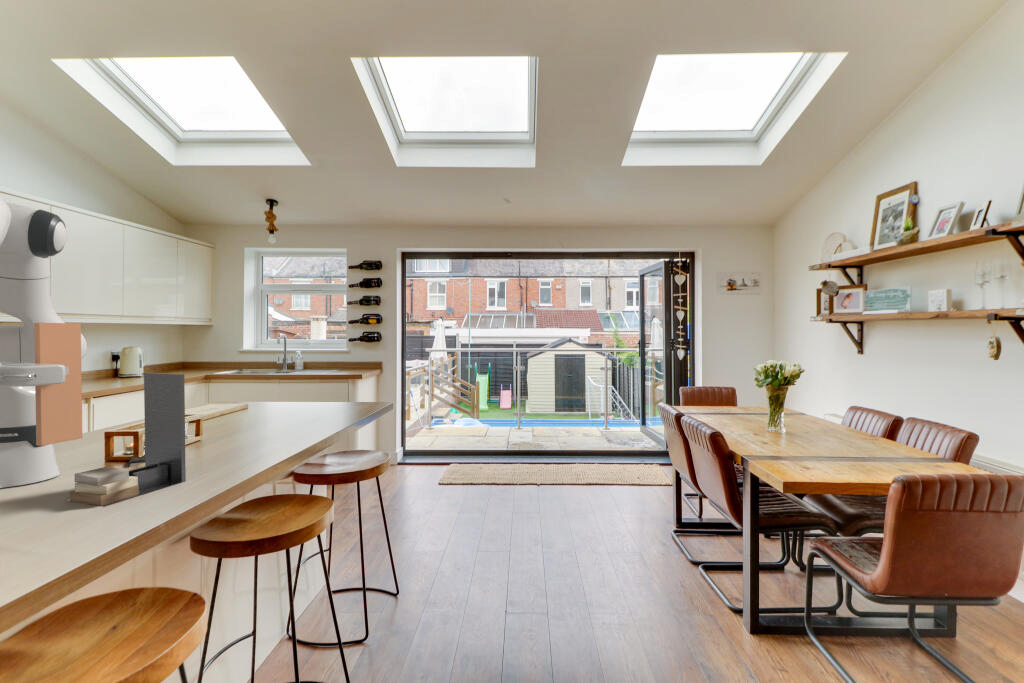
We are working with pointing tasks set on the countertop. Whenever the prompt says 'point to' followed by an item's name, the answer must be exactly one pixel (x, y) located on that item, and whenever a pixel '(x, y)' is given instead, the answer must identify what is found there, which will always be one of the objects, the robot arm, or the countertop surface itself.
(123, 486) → the offcut stack
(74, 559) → the countertop surface
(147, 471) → the rack
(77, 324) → the sheet
